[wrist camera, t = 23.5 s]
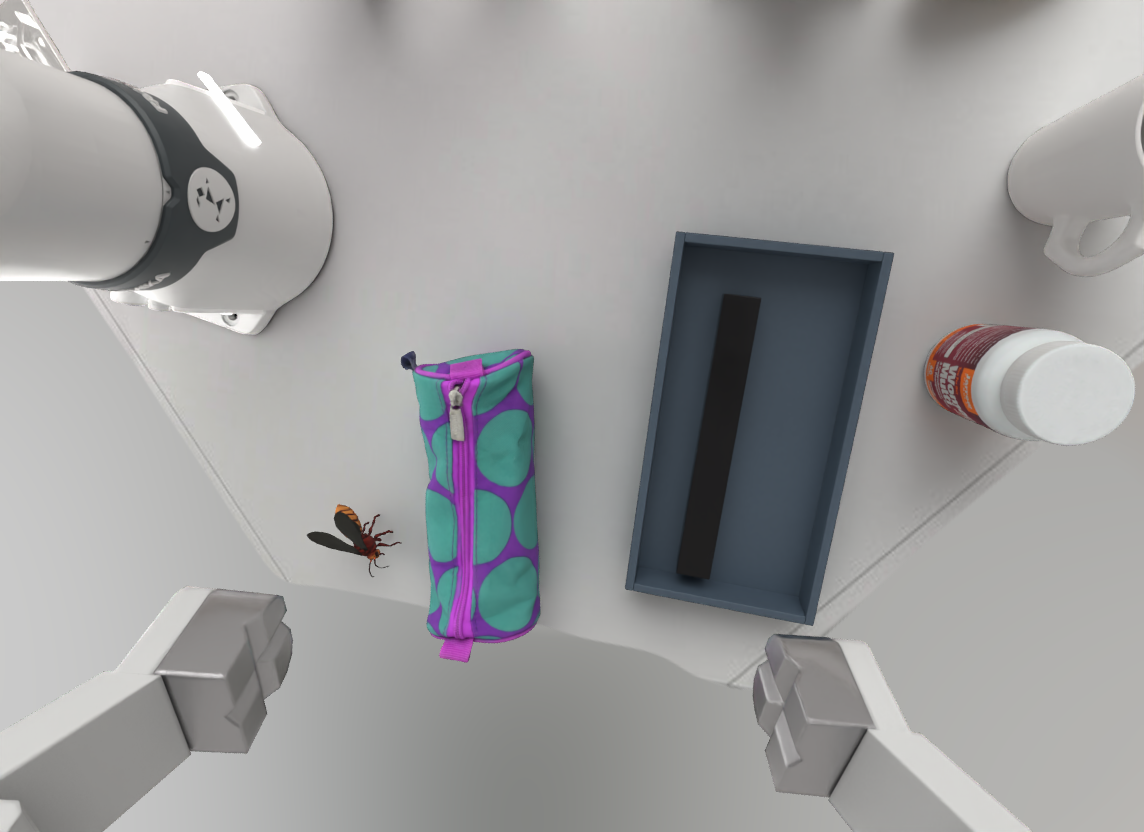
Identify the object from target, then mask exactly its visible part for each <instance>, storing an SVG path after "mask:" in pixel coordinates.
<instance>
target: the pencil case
mask: <svg viewBox="0 0 1144 832" xmlns="http://www.w3.org/2000/svg"><path fill="white" fill-rule="evenodd" d="M533 363H534V357H533V356H532V355H531V352H530V351H529V350H527V351H526V350H523V349H512V350H506V351H500V352H493V353H486V354H479V355H473V356H467V357H463V358H459V359H455V360H451V361H447V362H444V363H440V364H423V365H419V366H417V365H416V355H415V352H414V351H411V352H409V353H407V354H406V355H404V356H402V357H401V365H402V366H403V368H405V369H406V370H408V369H411V370H413V372H412V373H413V378H414V382H415V386H416V394H417V399H418V402H419V405H420V425H421V430H422V434H423V439H424V443H425V448H426V453H427V457H428V463H429V476H430V480H431V481H430V483H429V485H428V487H427V491H426V525H427V539H428V551H429V571H430V579H431V599H430V610H429V615H428V619H427V628H428V630H429V632H430V633H431V635H432V636H433V637H435V638H437V639H444V640H445V642H444V644H443V646H442V648H441V651H440V655H439V656H440V658H444V659H450V660H457V661H462V662H468V661H469V658H470V653H471V648H472V644H473V642H482V643H500V642H506V641H510V640H513V639H516V638H519V637H520V636H523V635H525V634H526V633H528V632H529V631H530V630H532V628H534V626H535V625H536V623H537V620H538V618H539V616H540V594H539V548H538V532H537V513H536V492H535V470H534V439H535V425H534V405H533V390H532V374H533ZM407 368H408V369H407Z"/></svg>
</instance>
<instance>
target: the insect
mask: <svg viewBox="0 0 1144 832" xmlns="http://www.w3.org/2000/svg"><path fill="white" fill-rule="evenodd" d="M378 516H380V515H379V514H378V515H377V516H374V520H373V522H372V526H371V527H370V528H369V533H368V534H366V533H365V534H363V533H364V531H365V526H366V524H369V522H367V523H365V524H364V527H363V530H362V527H361V523H360V521H359V519H358V516H357V515H356V514H355V513H354V511H353V510H352V509H351V508H349V507H347V506H344V505H339V504H338V505H337V508H336V512H335V517H334V521H335V524H336V527H337V528H338V529H339V530H340V531H341V533H343V534H344V535H345V536H346V537H347V538H349V539H350V540H351V541H352V542H353V544H354V547H353V546H351V545H348V544H346V543H345V542H343V541H342V540H340V539H338V538H336V537H335V536H333V535H331V534H329V533H324V532H311V533H309V534H307V536H308V538H309V539H310V540H311V541H313V542H315V543H317V544H320V545H323V546H326V547H328V548H331V549H336V550H340V551H345V552H350V553H354V554H357V555H361V556H367V558H368V559H370V564H371V561H372V560H373V559H374V564H375V566H377V565H376V563H375V559H376V558H378V557H379V555H381V554H383V555H385V554H384V553H380V550H379V549H376V548H377V546H392V545H395V544H397V543H400V542H396V543H393V544H392V545H387V544H384V543H379V544H377V545H376V542H375V541H381V539H380V538H378V537H379V536H381V535H385V534H386V533H389V532H390V533H393V531H390V530H388V531H386V532H383V533H379V534H376V535H375V536H374V538H373V537H372V536H370V534H371V533H372V527H373V525H374V523H375V519H376V517H378ZM400 544H401V543H400ZM370 564H369V573H370ZM377 567H378V566H377ZM387 567H388V566H387ZM379 568H381V567H379ZM383 568H385V567H383ZM370 575H371V573H370ZM371 577H374V576H372V575H371Z"/></svg>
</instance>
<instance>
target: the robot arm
mask: <svg viewBox="0 0 1144 832" xmlns="http://www.w3.org/2000/svg"><path fill="white" fill-rule="evenodd" d="M198 76H199V77H200V78H201V80H202V81H203V82H204V84H205V85H206V86H207V87H208V89H205V90H204V89H202V88H199V87H196V86H193V85H190V84H187V83H185V82H182V81H178V80H173V79H168V80H167V81H166V83H165V84H157V85H151V86H147V87H143V88H140V89H139V88H137V87H134V86H131V85H130V84H127V83H125V82H122V81H119V80H116V79H113V78H109V77H108V78H107V77H104V76H98V75H94V74H90V73H86V72H80V71H72V72H65V71H62V70H59V69H56V68H54V67H51V66H48V65H45V64H43V63H40V62H37V61H34V60H32V59H29V58H26V57H23V56H21V55H18V54H15V53H12V52H10V51H7V50H4V49H1V48H0V281H18V280H19V281H22V280H23V281H27V280H30V281H31V280H32V281H37V280H38V281H41V280H42V281H68V282H71V283H73V284H76V285H79V286H83V287H87V288H95V289H101V290H108V291H111V296H110V297H111V298H112V300H113V301H115V302H118V303H121V304H126V305H133V306H145V305H146V304H147V303H148V307H149V308H150V309H153V310H157V311H170V310H171V308H172V310H173V311H175V312H182V313H186V314H189V315H191V316H194V317H197V318H200V319H202V320H205V321H208V322H211V323H213V324H216V325H219V326H222V327H224V328H227V329H230V330H233V331H235V332H238V333H241V334H249V335H255V334H258V333H260V332H261V331H262V330H263V329H264V328H265V327H266V325H267V324H268V323H269V321H270V319H271V318H272V316H273V315H274V313H275V311H276V310H277V309H278V308H279V307H281V306H282V305H283V304H285V303H287V302H288V301H290V300H292V299H293V298H295V297H296V296H298V295H299V294H301V293H302V292H303V291H304V290H305V289H306V288H307V287H308V286H309V285H310V284H311V283H312V282H313V280H314V279H315V278H316V276H317V275H318V273H319V272H320V270H321V268H322V266H323V264H324V262H325V259H326V257H327V254H328V251H329V247H330V243H331V237H332V228H333V213H332V204H331V198H330V194H329V190H328V186H327V183H326V181H325V178H324V175H323V173H322V171H321V169H320V167H319V165H318V163H317V162H316V160H315V159H314V157H313V156H312V154H311V153H310V152H309V150H308V149H307V148H306V147H305V146H304V144H303V143H302V142H301V141H300V140H299V139H298V138H296V137H295V136H294V135H293V134H292V133H291V132H290V131H288V130H287V129H286V128H285V127H284V126H283V125H282V124H281V123H280V121H279V120H278V118H277V116H276V114H275V112H274V110H273V108H272V106H271V105H270V103H269V101H268V99H267V98H266V96H265V95H264V93H263V92H262V91H261V90H260V89H259V88H257V87H255V86H252V85H249V84H245V83H240V84H234V85H228V86H222V87H218V86H217V85H216V84H215V82H214V81H213V80H212V79H211V77H210V76H209V75H207V74H205V73H203V72H201V71H200V72H199V73H198ZM235 100H236V101H235ZM234 314H237V319H236V318H235V316H234ZM286 611H287V609H286V605H285V602H284V598H283V596H279V595H272V594H262V593H253V592H244V591H235V590H225V589H213V588H202V587H192V586H186V587H184V588H182V589H181V590H179V591H178V592H176V593H175V594H174V596H173V597H172V598H171V600H170V601H169V602H168V603H167V605H166V606H165V607H164V608H163V610H162V611H161V612H160V614H159V615H158V616H157V617H156V619H155V620H154V621H153V623H152V624H151V625H150V626H149V628H148V629H147V630H146V631H145V633H144V634H143V635H142V637H141V638H140V639H139V640H138V642H137V643H136V644H135V646H134V647H133V648H132V650H131V651H130V652H129V653H128V655H127V656H126V657H125V658H124V660H123V661H122V662H121V663H120V665H119V666H118V667H117V669H116V670H115V671H114V672H113V671H103V672H102V673H100V674H98V675H97V676H95V677H93V678H92V679H90V680H88V681H87V682H85V683H83V684H81V685H80V686H78V687H76V688H75V689H73V690H71V691H69V692H68V693H66V694H64V695H63V696H61V697H59V698H58V699H56V700H54V701H52V702H51V703H49V704H47V705H45V706H44V707H42V708H40V709H39V710H37V711H35V712H34V713H32V714H30V715H28V716H27V717H25V718H23V719H22V720H20V721H19V722H17V723H15V724H13V725H11V726H10V727H8V728H6V729H5V730H3V731H1V732H0V832H103V831H104V830H105V829H106V828H107V827H109V826H110V825H111V824H112V823H113V822H114V821H116V820H117V819H118V818H119V817H120V816H121V815H122V814H124V813H125V812H126V811H127V810H128V809H129V808H130V807H132V806H133V805H134V804H135V803H136V802H137V801H138V800H140V799H141V798H142V797H143V796H144V795H145V794H146V793H148V792H149V791H150V790H151V789H152V788H153V787H154V786H156V785H157V784H158V783H159V782H160V781H161V780H162V779H163V778H165V777H166V776H167V775H168V774H169V773H170V772H171V771H173V770H174V769H175V768H176V767H177V766H178V765H180V764H181V763H182V762H183V761H184V760H185V759H186V758H187V757H189V756H190V755H191V752H190V751H199V752H224V753H248V751H249V749H250V747H251V745H252V743H253V741H254V739H255V737H256V735H257V733H258V731H259V729H260V727H261V725H262V723H263V721H264V719H265V717H266V715H267V711H266V707H265V703H264V699H265V698H267V697H268V696H270V695H271V694H272V693H273V692H275V691H276V690H278V689H279V688H280V686H281V684H282V682H283V680H284V678H285V675H286V673H287V671H288V667H289V663H290V659H291V656H292V643H293V640H292V634H291V629H289V627H288V626H286V625H285V624H284V623H283V622H282V619H283V617H284V615H285V613H286ZM765 651H766V655H767V658H768V660H767V661H765V662H764V663H762V664H761V665H759V666H758V668H757V671H756V674H755V677H754V684H753V701H754V709H755V714H756V718H757V722H758V725H759V726H760V727H761V728H762V729H763V730H764V731H765V732H766V733H767V734H768V735H769V737H770V740H769V742H768V744H767V747H766V749H765V752H766V756H767V760H768V764H769V767H770V771H771V775H772V778H773V782H774V786H775V790H776V792H782V793H792V794H801V795H812V796H821V797H830V798H829V802H830V803H831V804H832V806H833V807H834V808H835V809H836V811H837V812H838V813H839V814H840V816H841V817H842V818H843V820H844V821H845V822H846V823H847V825H848V826H849V827H850V828H851V830H852V831H853V832H1033V831H1032V830H1030V829H1029V828H1028V827H1027V826H1026V825H1025V824H1024V823H1023V822H1021V821H1020V820H1019V819H1018V818H1017V817H1016V816H1015V815H1014V814H1012V813H1011V812H1010V811H1009V810H1008V809H1007V808H1006V807H1004V806H1003V805H1002V804H1001V803H1000V802H999V801H998V800H996V799H995V798H994V797H993V796H992V795H990V793H988V792H987V791H986V790H985V789H984V788H983V787H982V786H980V785H979V784H978V783H977V782H976V781H975V780H974V779H973V778H971V777H970V776H969V775H968V774H967V773H965V771H963V770H962V769H961V768H960V767H959V766H958V765H957V764H955V763H954V762H953V761H952V760H951V759H950V758H948V756H946V755H945V754H944V753H943V752H942V751H941V750H940V749H938V748H937V747H936V746H935V745H934V744H933V743H932V742H930V741H929V740H928V739H927V738H926V737H925V736H924V735H922V734H921V733H916V732H911V730H910V728H909V726H908V724H907V722H906V720H905V718H904V716H903V714H902V712H901V710H900V708H899V706H898V704H897V702H896V700H895V698H894V696H893V694H892V692H891V690H890V688H889V686H888V684H887V682H886V680H885V678H884V676H883V674H882V672H881V670H880V667H879V665H878V664H877V662H876V659H875V658H874V655H873V653H872V651H871V649H870V647H869V646H868V645H867V644H866V643H865V642H864V641H860V640H848V639H835V638H834V639H831V638H827V637H812V636H797V635H782V634H773V635H772V636H771V637H770V638H769V639H768V642H767V644H766V647H765Z"/></svg>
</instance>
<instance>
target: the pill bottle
mask: <svg viewBox="0 0 1144 832" xmlns="http://www.w3.org/2000/svg"><path fill="white" fill-rule="evenodd" d="M924 379H925V385H926V387H927V390H928V392H929V394H930V395H931V397H932V398H933V399H934V400H935V402H936V403H938V404H939V405H940V406H941V407H943V408H944V409H946V410H948V411H950V412H952V413H954V414H956V415H958V416H961V417H963V418H966V419H968V420H970V421H973V422H975V423H977V424H980V425H982V426H985V427H986V428H989V429H991V430H993V431H995V432H997V433H999V434H1002V435H1004V436H1008V437H1011V438H1014V439H1019V440H1026V441H1039V440H1043V441H1046V442H1049V443H1052V444H1057V445H1065V446H1073V445H1081V444H1087V443H1090V442H1093V441H1096V440H1098V439H1100V438H1102V437H1104V436H1106V435H1108V434H1109V433H1111V432H1112V431H1114V430H1115V429H1116V428H1117V427H1118V426H1119V425H1120V424H1121V423H1122V422H1123V421H1124V419H1125V418H1126V416H1127V415H1128V413H1129V412H1130V410H1131V407H1132V404H1133V401H1134V397H1135V381H1134V378H1133V375H1132V373H1131V370H1130V369H1129V367H1128V365H1127V364H1126V363H1125V361H1124V360H1123V359H1122V358H1121V357H1120V356H1118V355H1117V354H1115V353H1114V352H1112V351H1111V350H1109V349H1106V348H1104V347H1101V346H1098V345H1094V344H1087V343H1084V342H1083V341H1082V340H1080V339H1079V338H1077V337H1075V336H1073V335H1070V334H1068V333H1064V332H1061V331H1056V330H1050V329H1044V328H1028V327H1017V326H1005V325H993V324H974V325H968V326H964V327H961V328H958V329H956V330H954V331H952V332H950V333H948V334H947V335H945V336H944V337H943V338H941V339H940V340H939V341H938V342H937V343H936V344H935V346H934V347H933V348H932V350H931V351H930V353H929V355H928V357H927V360H926V363H925V368H924Z"/></svg>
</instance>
